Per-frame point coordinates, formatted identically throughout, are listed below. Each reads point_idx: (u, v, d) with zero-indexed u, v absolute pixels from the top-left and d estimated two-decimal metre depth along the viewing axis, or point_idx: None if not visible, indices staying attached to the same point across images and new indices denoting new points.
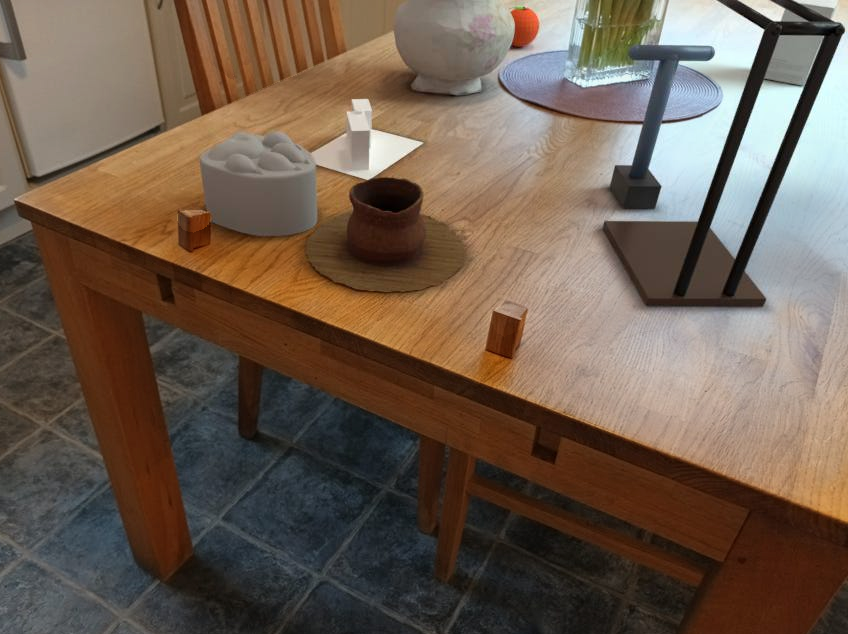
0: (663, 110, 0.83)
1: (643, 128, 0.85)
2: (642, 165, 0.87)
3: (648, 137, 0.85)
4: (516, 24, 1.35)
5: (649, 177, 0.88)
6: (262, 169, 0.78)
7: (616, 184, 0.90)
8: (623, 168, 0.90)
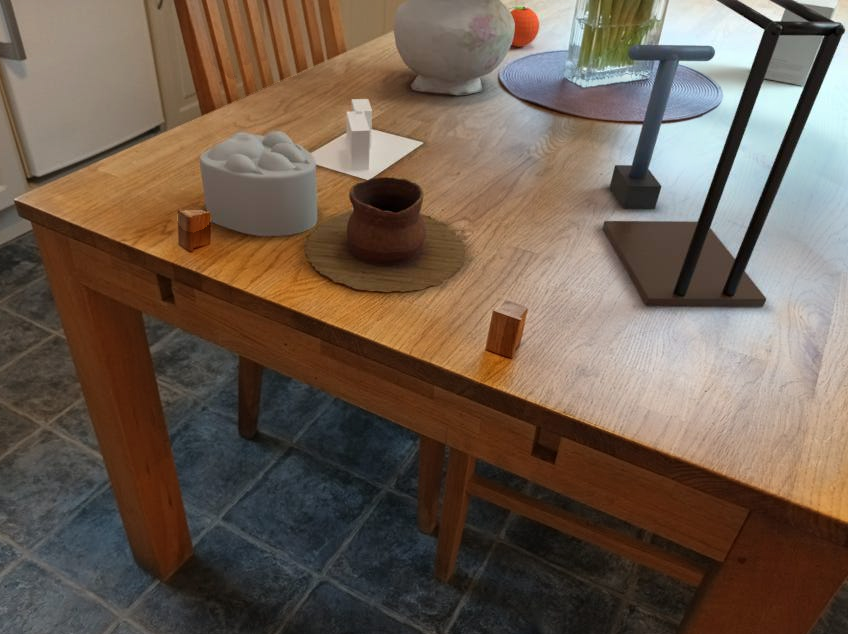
0: (663, 110, 0.83)
1: (643, 128, 0.85)
2: (642, 165, 0.87)
3: (648, 137, 0.85)
4: (516, 24, 1.35)
5: (649, 177, 0.88)
6: (262, 169, 0.78)
7: (616, 184, 0.90)
8: (623, 168, 0.90)
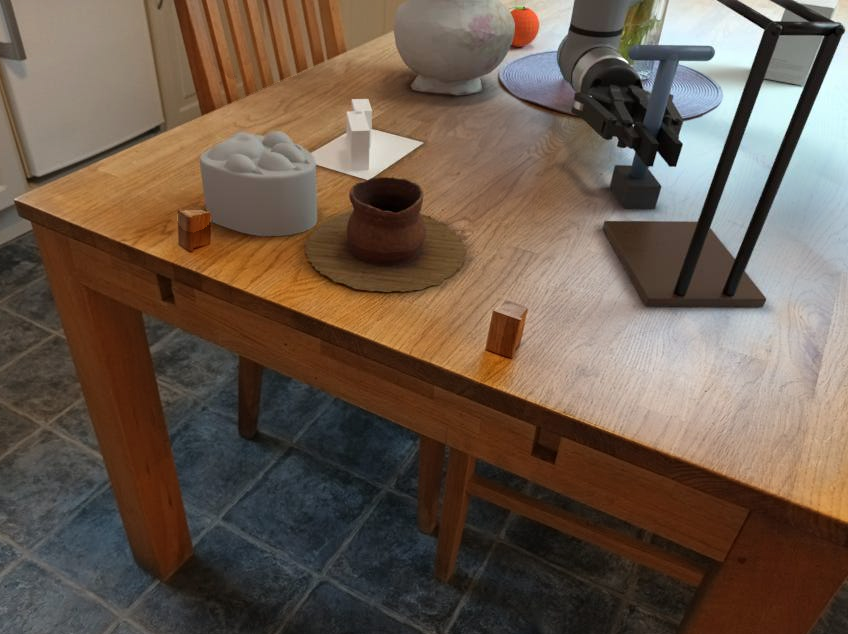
0: (663, 110, 0.83)
1: None
2: (642, 165, 0.87)
3: None
4: (516, 24, 1.35)
5: (649, 177, 0.88)
6: (262, 169, 0.78)
7: (616, 184, 0.90)
8: (623, 168, 0.90)
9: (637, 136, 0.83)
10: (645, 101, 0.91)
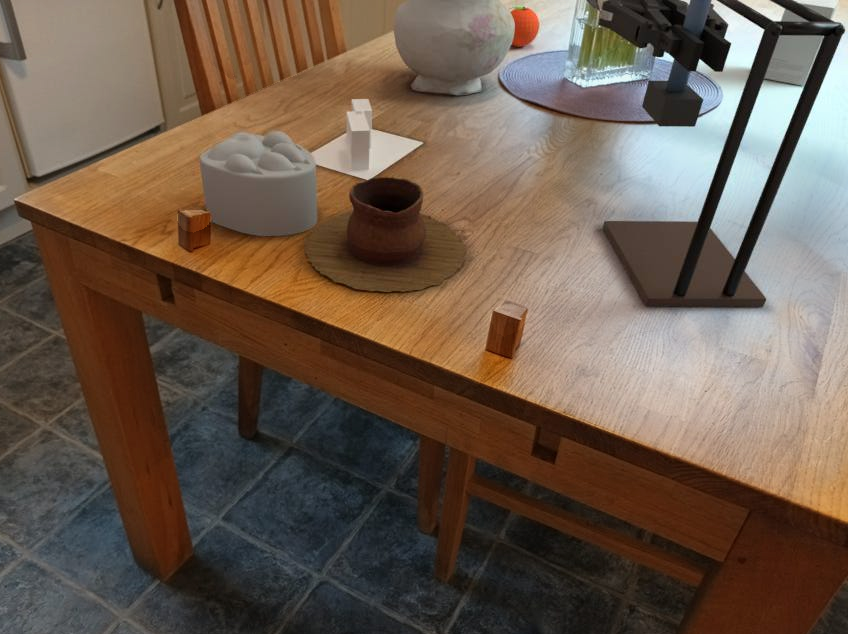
0: (707, 8, 0.73)
1: None
2: (681, 76, 0.77)
3: None
4: (516, 24, 1.35)
5: (688, 91, 0.78)
6: (262, 169, 0.78)
7: (650, 101, 0.80)
8: (658, 83, 0.80)
9: (677, 39, 0.73)
10: (683, 8, 0.81)
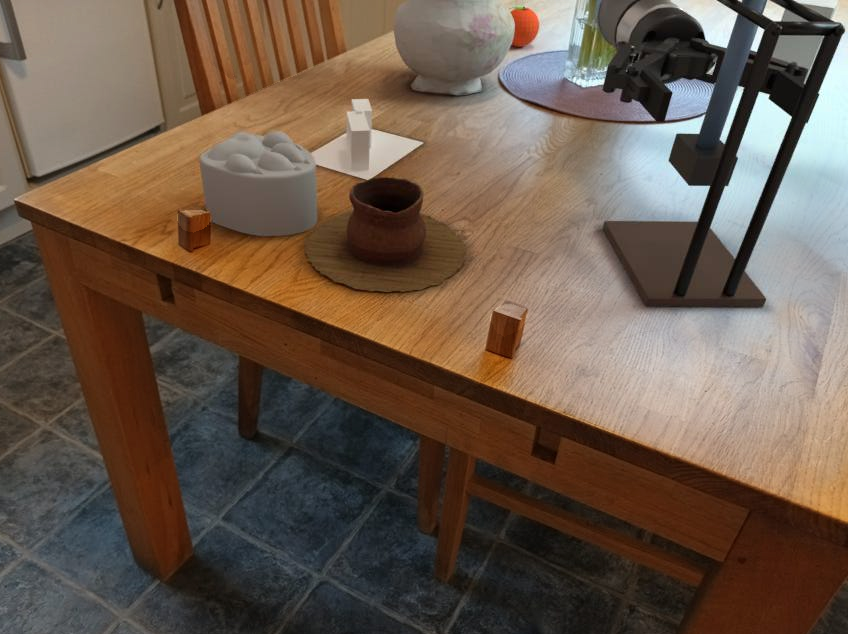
0: (745, 61, 0.66)
1: (717, 84, 0.68)
2: (714, 132, 0.70)
3: (724, 96, 0.68)
4: (516, 24, 1.35)
5: (721, 147, 0.71)
6: (262, 169, 0.78)
7: (678, 157, 0.74)
8: (687, 137, 0.73)
9: (645, 86, 0.68)
10: None
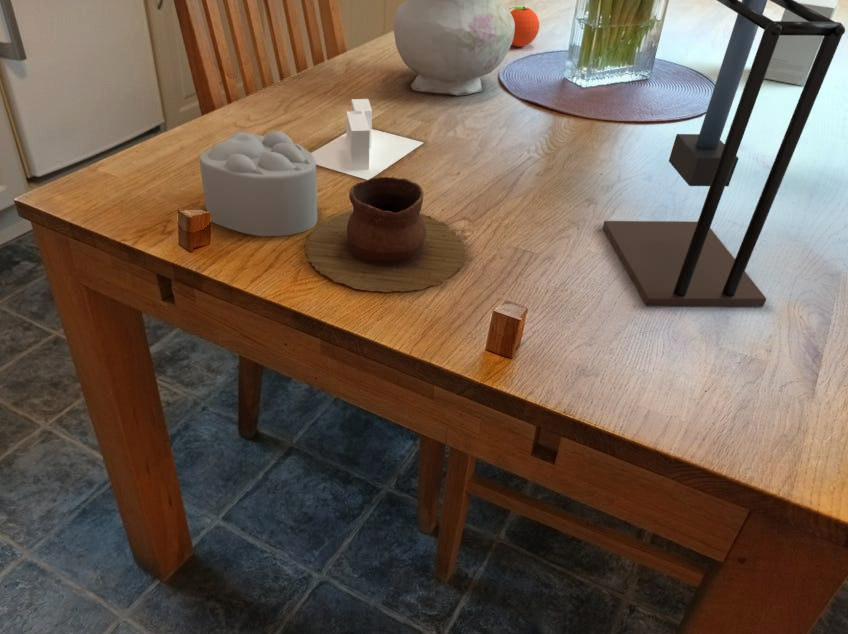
0: (745, 61, 0.66)
1: (717, 85, 0.68)
2: (714, 132, 0.70)
3: (724, 96, 0.68)
4: (516, 24, 1.35)
5: (721, 148, 0.71)
6: (262, 169, 0.78)
7: (678, 157, 0.73)
8: (687, 137, 0.73)
9: None
10: None
